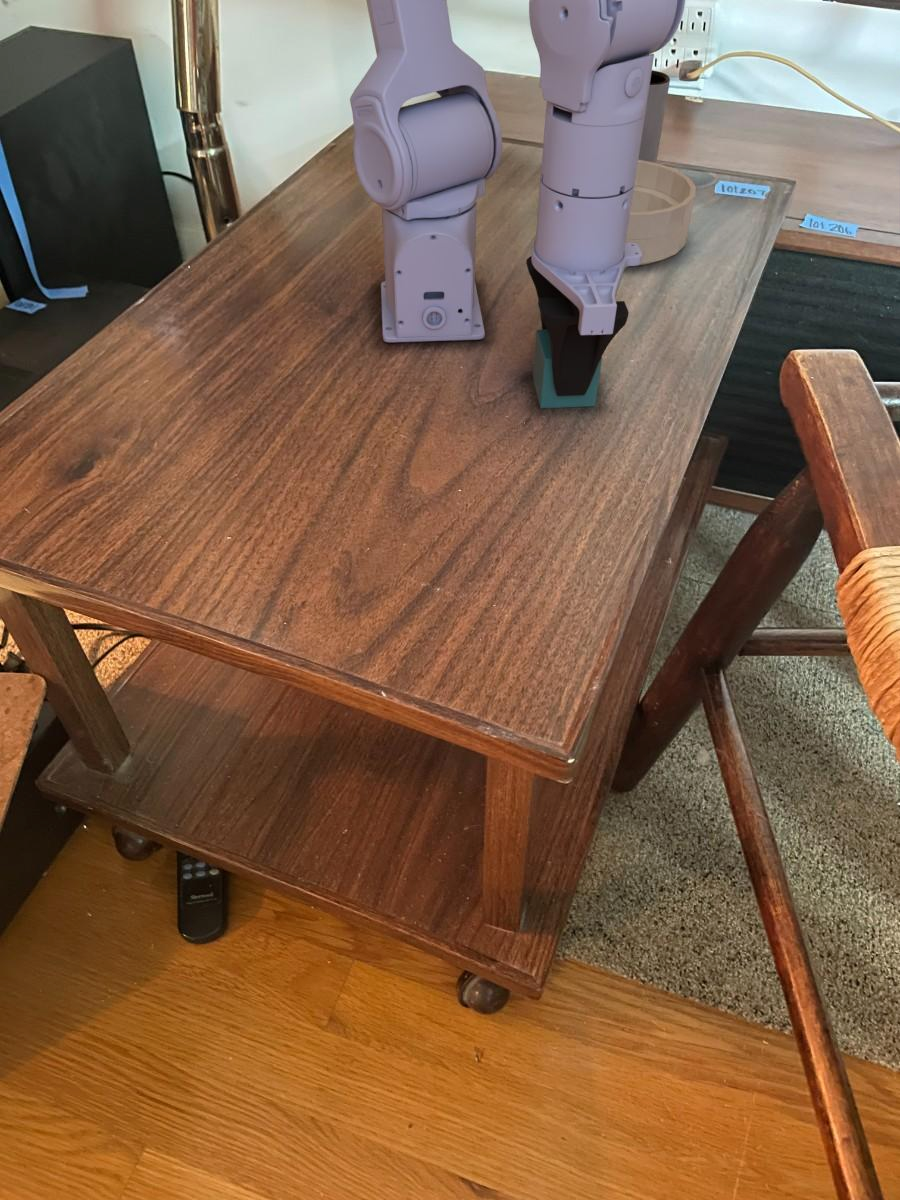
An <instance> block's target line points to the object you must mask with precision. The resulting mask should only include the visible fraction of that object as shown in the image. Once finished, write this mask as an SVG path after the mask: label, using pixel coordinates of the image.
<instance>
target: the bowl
mask: <svg viewBox="0 0 900 1200" xmlns="http://www.w3.org/2000/svg"><path fill="white" fill-rule="evenodd" d="M696 193H697V186H696V185H695V183H694V182H693V180H692V179H691V177H689V176H687V175H686V174H685V173H683V172H681V171H680V170H678V169H675V168H673V167H670V166H668V165H665V164H662V163H659V162H658V163H657V162H656V163H654V162H649V161H645V160H638V165H637V171H636V178H635V184H634V191H633V198H632V204H631V210H630V217H629V224H628V230H627V237H626V243H627V242H630V243H635V244H637V245H638V246H639V248H640V250H641V252H642V259H641V264H639V265H638V266H644V265H650V264H653V263H656V262H659V261H663V260H665V259H668V258H670V257H672V256H675V255H677V253H679V252H680V251H681V250H682V249H683V248H684V247H685V245H686V244H687V240H688V239H687V238H688V233H689V229H690V224H691V219H692V214H693V209H694V203H695V198H696Z"/></svg>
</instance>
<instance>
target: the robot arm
mask: <svg viewBox="0 0 900 1200" xmlns="http://www.w3.org/2000/svg"><path fill="white" fill-rule="evenodd" d="M447 1H448V0H366V6H367V7H366V8H367V11H368V17H369V22H370V27H371V31H372V32H371V33H372V37H373V42H374V49H375V54H376V57H375V59H374V61H373V62H372V64H371V65H370V67H369V68H368V70H367V71H366V73H365V74H364V75H363V77H362V79H361V80H360V82H359V83H358V84H357V86H356V87H355V89H354V90H353V92H352V94H351V96H350V97H349V101H350V102H349V103H350V108H351V112H352V113H351V114H352V121H353V122H352V123H353V143H352V145H353V147H352V152H353V153H352V154H353V162H354V167H355V170H356V175H357V177H358V179H359V182H360V184H361V186H362V188H363V189H364V191H365V193H366V195H368V196H369V198H371V200H372V202H373V203H374V204H376V205H377V206H378V207H380V208H381V222H382V240H383V241H382V243H383V259H384V260H383V261H384V280H385V281H382V282H381V283H380V295H381V296H380V297H381V322H382V326H381V327H382V340H383V341H384V342H386V343H416V342H418V343H419V342H421V343H422V342H449V341H476V340H477V341H479V340H483V339H484V338H485V337H486V336H485V335H486V332H485V326H484V321H483V316H482V311H481V306H480V300H479V295H478V290H477V286H476V278H475V277H476V275H475V274H476V245H477V244H476V242H477V241H476V240H477V207H478V206H477V204H478V203H477V201H478V199H479V198H482V197H483V196H485V195H486V194H485V193H486V191H485V190H486V181H487V180H489V179H490V178H492V177H493V176H494V175H495V173H496V172H497V170H498V168H499V166H500V163H501V159H502V155H503V134H502V128H501V127H502V126H501V122H500V120H499V117H498V114H497V113H496V110H495V108H494V106H493V103H492V100H491V97H490V95H489V90H488V86H487V80H486V74H485V73H486V72H485V69H484V67H483V66H482V65H481V64H480V63H478V62H477V61H476V60H475V59H474V58H472V57H471V56H470V55H469V54H467V53H466V52H465V51H464V50H463V49H461V48H460V47H459V46H458V45H457V44H456V43H455V42H454V41H453V35H452V27H451V21H450V14H449V8H448V7H449V6H448V2H447ZM685 6H686V0H529V1H528V18H529V24H530V32H531V35H532V39H533V42H534V45H535V47H536V50H537V53H538V57H539V64H540V73H539V89H541V90H542V98H543V100H544V101H545V102H546V103H545V117H544V130H543V140H542V143H543V144H542V157H541V170H540V178H539V179H540V180H539V193H538V204H537V205H538V207H537V219H536V230H535V231H536V232H535V241H534V242H533V245H532V246H531V255H530V256H528V258H526V260H525V264H526V267H527V271H528V274H529V276H530V278H531V281H532V283H533V285H534V287H535V291H536V295H537V305H538V310H539V315H540V322H541V323H540V324H541V330H543V329H547V330H548V333H549V337H550V344H551V353H552V372H553V381H554V386H555V390H556V394H557V396H577V395H585V394H586V392H587V390H588V388H589V386H590V383H591V381H592V379H593V376H594V374H595V371H596V369H597V366H598V364H599V362H600V359H601V357H602V358H603V355H604V353H605V351H606V350H607V348H608V347H609V345H610V344H611V342H612V341H613V339H614V338H615V337H616V335H617V334H618V333H619V332H620V331H621V330H622V329H623V328H624V327H625V326H626V323H627V321H628V319H629V314H630V313H629V312H630V311H629V309H628V307H627V305H626V302H625V301H624V300H616V296H617V293H618V290H619V287H620V284H621V281H622V279H623V276H624V275H623V274H624V271H625V269H626V268H628V267H637V266H640V265H639V264H641V259H642V252H641V250H640V248H639V246H638V245H637V244H635V243H630V242H627V243H626V237H627V230H628V224H629V217H630V210H631V204H632V198H633V191H634V184H635V178H636V171H637V165H638V158H639V151H640V145H641V138H642V132H643V125H644V118H645V112H646V105H647V99H648V92H649V85H650V79H651V72H652V70H653V65H654V58H655V54H654V53H656V52H658V51H660V50H661V49H663V48H664V47H665V46H666V45H668V43H669V42H670V41H671V40H672V38H673V37H674V35H675V34H676V33H677V31H678V28H679V26H680V24H681V21H682V18H683V15H684V11H685ZM432 93H436V94H438V95H439V97H436V98H431V99H428V100H423V101H419V102H415V103H413V104H408V105H404V104H405V103H406V102H407V101H409V100H412V99H414V98H416V97H421V96H425V95H428V94H432ZM403 105H404V106H403Z"/></svg>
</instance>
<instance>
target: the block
mask: <svg viewBox="0 0 900 1200" xmlns="http://www.w3.org/2000/svg"><path fill="white" fill-rule="evenodd" d="M535 331H536V332H535V343H534V344H535V346H534V356H533V367H532V368H533V369H532V381H533V386H534V389H535V393H536V397H537V401H538V405H539V408H540V409H560V408H583V407H584V408H585V407H588V408H589V407H595V406H596V403H597V397H598V389H599V383H600V382H599V381H600V375H601V369H602V360H603V356H602V357H601V359H600V362H599V364H598V366H597V369H596V371H595V374H594V376H593V379H592V381H591V383H590V386H589V388H588V390H587V392H586V394H585V395H577V396H557V394H556V390H555V386H554V381H553V372H552V353H551V344H550V337H549V333H548V330H547V329H543V330H542V329H536V330H535Z"/></svg>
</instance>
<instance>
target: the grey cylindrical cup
mask: <svg viewBox="0 0 900 1200" xmlns="http://www.w3.org/2000/svg"><path fill="white" fill-rule="evenodd" d="M670 83H671V77H670V75H668V74H666V73H664V72H661V71H658V70H653V69H652V72H651V79H650V85H649V92H648V99H647V105H646V112H645V118H644V125H643V132H642V138H641V145H640V151H639V158H638V160H645V161H649V162H654V163H657V162H658V156H659V155H658V154H659V149H660V144H661V137H662V131H663V125H664V119H665V113H666V106H667V101H668V95H669V88H670Z"/></svg>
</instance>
